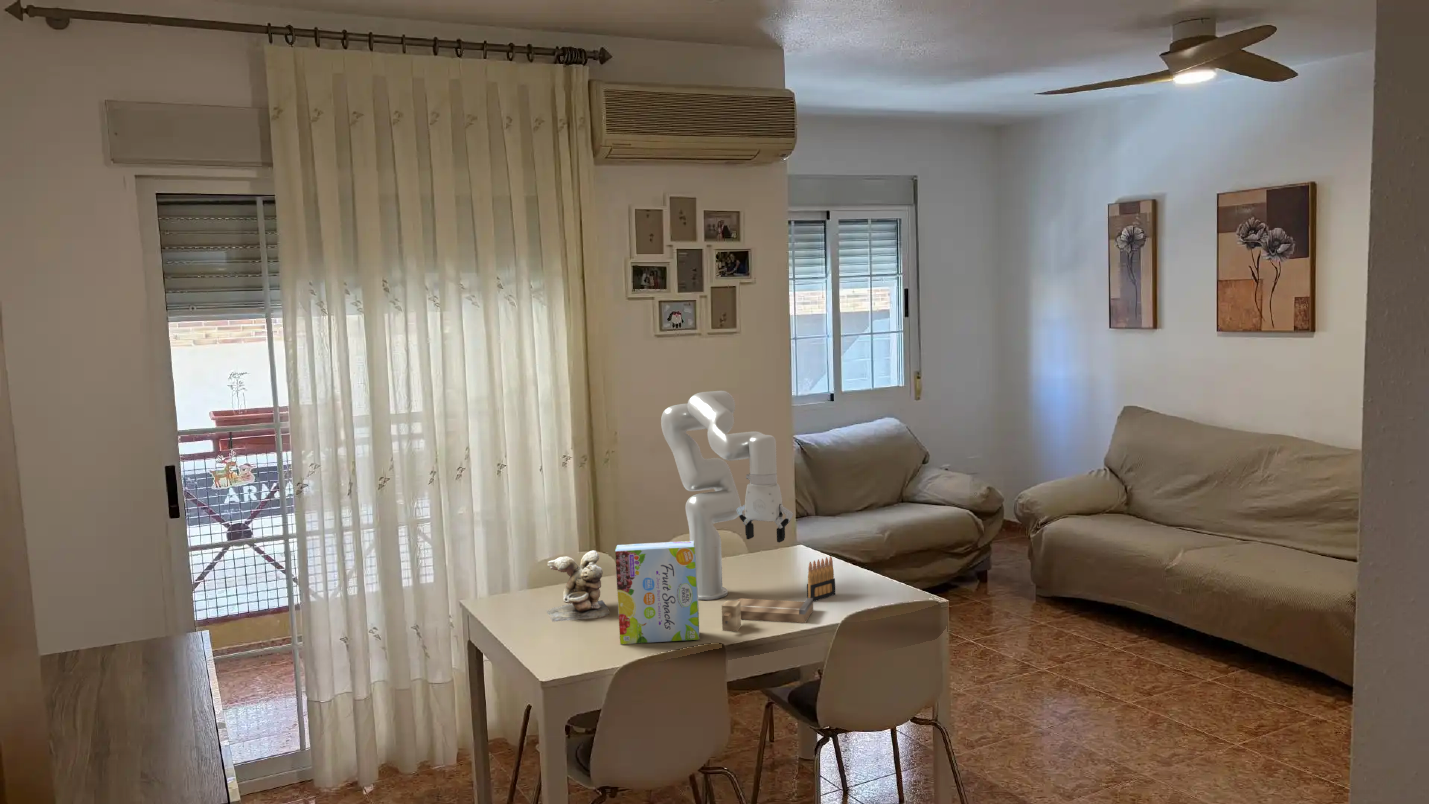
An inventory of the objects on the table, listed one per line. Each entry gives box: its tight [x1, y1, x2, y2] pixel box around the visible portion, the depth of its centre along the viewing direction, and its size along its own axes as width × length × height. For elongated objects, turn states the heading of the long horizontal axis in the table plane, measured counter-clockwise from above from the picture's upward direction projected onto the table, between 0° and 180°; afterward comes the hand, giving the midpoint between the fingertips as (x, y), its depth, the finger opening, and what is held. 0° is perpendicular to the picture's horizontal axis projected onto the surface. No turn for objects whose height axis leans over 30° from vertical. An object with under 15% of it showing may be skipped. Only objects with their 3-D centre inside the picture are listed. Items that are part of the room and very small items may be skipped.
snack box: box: [614, 540, 700, 645], centre depth 288 cm, size 22×9×26 cm, turn 93°
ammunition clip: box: [806, 556, 837, 602], centre depth 321 cm, size 11×2×12 cm, turn 131°
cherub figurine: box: [545, 550, 610, 623], centre depth 315 cm, size 18×18×18 cm
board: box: [737, 597, 814, 624], centre depth 307 cm, size 22×12×4 cm, turn 74°
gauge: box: [721, 600, 742, 632], centre depth 295 cm, size 4×11×7 cm, turn 164°
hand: (765, 539), depth 299 cm, fingers open, 9 cm apart
